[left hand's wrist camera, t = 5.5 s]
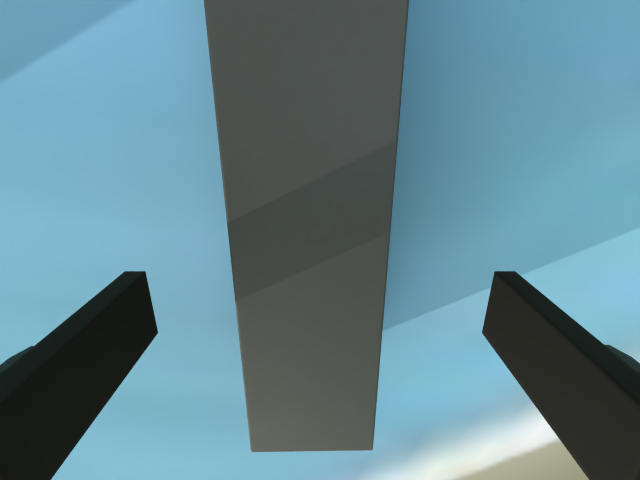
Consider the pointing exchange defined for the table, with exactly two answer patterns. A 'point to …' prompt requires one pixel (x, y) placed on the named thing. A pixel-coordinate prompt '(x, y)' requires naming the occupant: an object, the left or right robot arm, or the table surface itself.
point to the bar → (308, 206)
